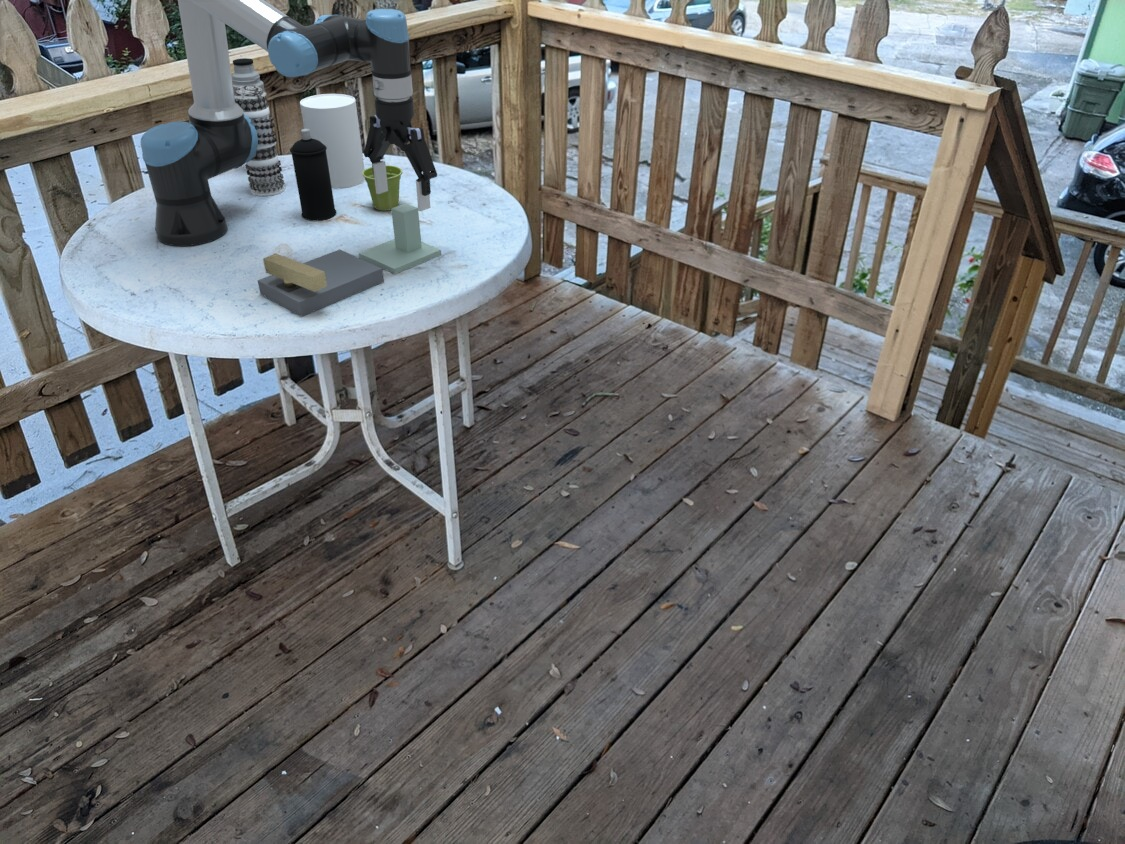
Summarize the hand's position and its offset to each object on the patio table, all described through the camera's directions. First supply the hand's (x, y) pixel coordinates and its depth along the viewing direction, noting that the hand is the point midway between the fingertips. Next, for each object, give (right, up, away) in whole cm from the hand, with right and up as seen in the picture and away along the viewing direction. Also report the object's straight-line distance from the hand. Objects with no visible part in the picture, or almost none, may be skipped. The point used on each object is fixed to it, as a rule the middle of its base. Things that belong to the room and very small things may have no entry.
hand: (402, 200), depth 180 cm
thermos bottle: (-47, +21, +49) cm, 71 cm away
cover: (-2, -11, +5) cm, 12 cm away
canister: (-25, +17, +44) cm, 53 cm away
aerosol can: (-25, +3, +24) cm, 35 cm away
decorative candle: (-41, +12, +37) cm, 57 cm away
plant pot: (-9, +6, +29) cm, 31 cm away
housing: (-15, -20, -8) cm, 26 cm away
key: (-18, -21, -15) cm, 31 cm away
